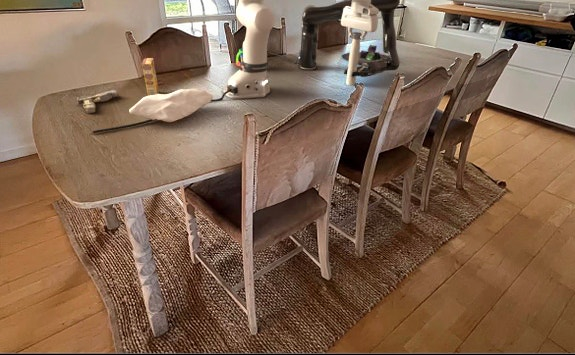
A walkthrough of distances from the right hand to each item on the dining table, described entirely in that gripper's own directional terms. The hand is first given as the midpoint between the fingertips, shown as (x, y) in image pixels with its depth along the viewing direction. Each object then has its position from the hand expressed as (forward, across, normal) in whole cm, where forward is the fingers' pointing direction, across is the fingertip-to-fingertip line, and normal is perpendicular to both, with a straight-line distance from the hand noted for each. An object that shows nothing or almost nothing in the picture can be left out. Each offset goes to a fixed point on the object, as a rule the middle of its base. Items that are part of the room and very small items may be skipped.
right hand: (348, 73), depth 186 cm
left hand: (-3, 0, -17) cm, 17 cm away
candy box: (+88, -38, +6) cm, 96 cm away
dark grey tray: (-50, -29, +6) cm, 58 cm away
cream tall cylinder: (-3, 0, +6) cm, 7 cm away
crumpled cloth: (+90, -13, +6) cm, 91 cm away
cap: (-3, 0, -19) cm, 19 cm away
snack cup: (+27, -51, +6) cm, 58 cm away
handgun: (+110, -39, +6) cm, 117 cm away
